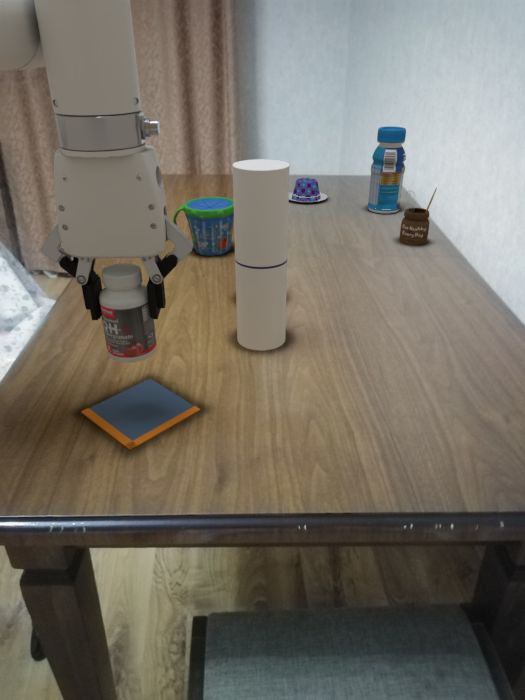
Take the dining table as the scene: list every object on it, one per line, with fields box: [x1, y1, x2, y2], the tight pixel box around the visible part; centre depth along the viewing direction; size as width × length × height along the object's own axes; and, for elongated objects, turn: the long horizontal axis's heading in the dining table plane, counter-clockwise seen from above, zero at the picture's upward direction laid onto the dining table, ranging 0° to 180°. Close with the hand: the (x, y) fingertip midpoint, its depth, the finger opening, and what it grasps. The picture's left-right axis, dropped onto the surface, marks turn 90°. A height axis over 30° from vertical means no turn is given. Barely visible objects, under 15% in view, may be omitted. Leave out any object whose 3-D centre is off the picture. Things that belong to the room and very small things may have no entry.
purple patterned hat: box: [289, 177, 328, 204], centre depth 149 cm, size 12×12×5 cm
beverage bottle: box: [367, 126, 407, 215], centre depth 136 cm, size 8×8×20 cm
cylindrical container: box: [232, 158, 290, 351], centre depth 74 cm, size 7×7×25 cm
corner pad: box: [81, 378, 202, 452], centre depth 64 cm, size 10×10×1 cm
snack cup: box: [172, 196, 234, 257], centre depth 111 cm, size 16×10×10 cm
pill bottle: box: [99, 262, 158, 364], centre depth 57 cm, size 5×5×10 cm
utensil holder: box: [399, 186, 438, 247], centre depth 115 cm, size 6×6×12 cm
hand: (127, 312), depth 57 cm, fingers closed on pill bottle, 5 cm apart
